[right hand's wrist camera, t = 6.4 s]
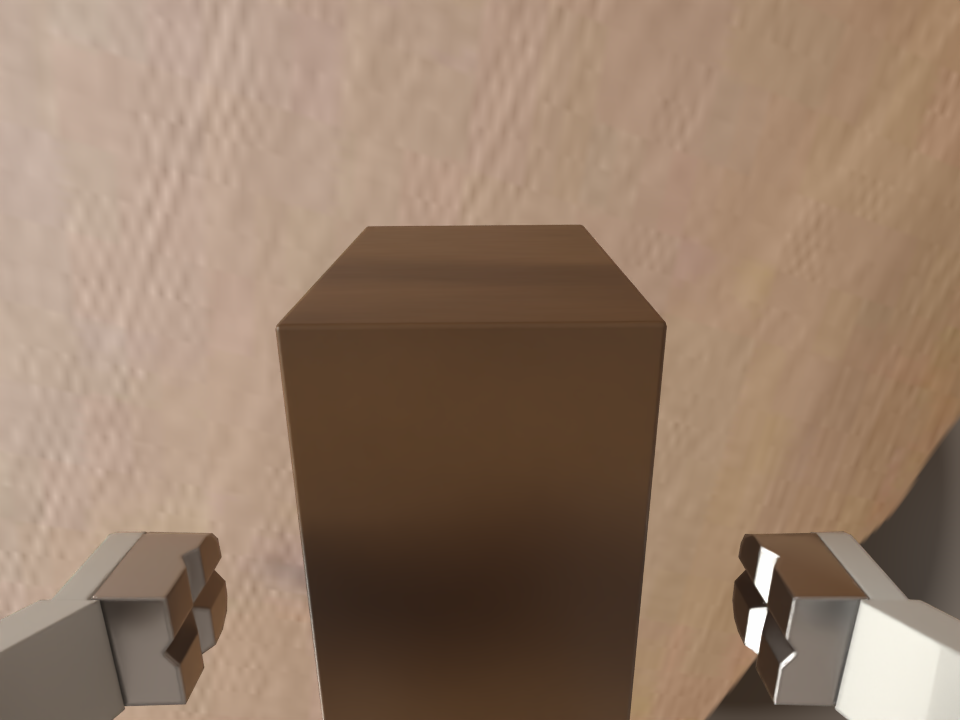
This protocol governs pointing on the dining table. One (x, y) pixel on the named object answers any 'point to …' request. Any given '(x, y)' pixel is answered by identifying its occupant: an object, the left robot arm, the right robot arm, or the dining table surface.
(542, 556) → the bar
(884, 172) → the dining table surface
